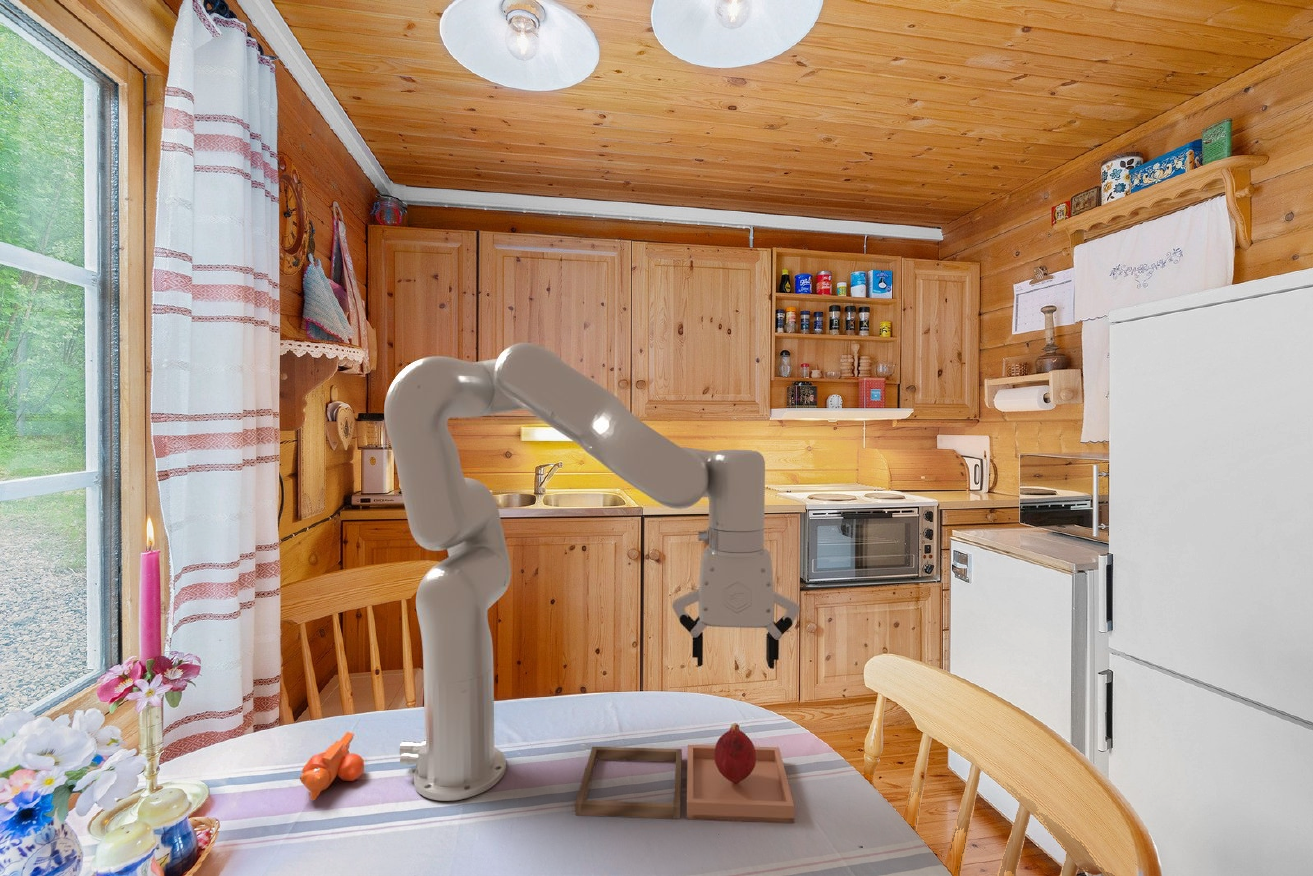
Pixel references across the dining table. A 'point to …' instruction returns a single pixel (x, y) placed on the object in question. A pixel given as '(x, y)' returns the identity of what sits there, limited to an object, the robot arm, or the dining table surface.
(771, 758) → the terracotta tray
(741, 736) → the onion
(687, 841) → the dining table surface
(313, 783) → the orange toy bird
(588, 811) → the walnut frame
